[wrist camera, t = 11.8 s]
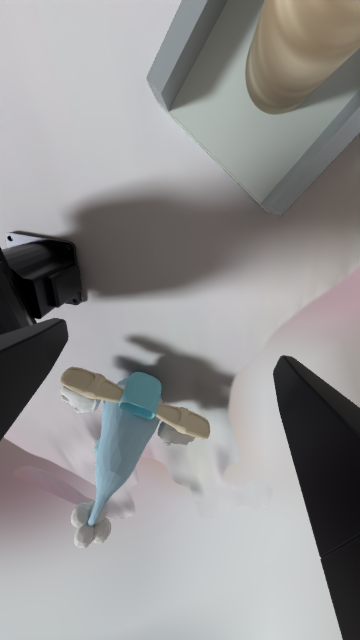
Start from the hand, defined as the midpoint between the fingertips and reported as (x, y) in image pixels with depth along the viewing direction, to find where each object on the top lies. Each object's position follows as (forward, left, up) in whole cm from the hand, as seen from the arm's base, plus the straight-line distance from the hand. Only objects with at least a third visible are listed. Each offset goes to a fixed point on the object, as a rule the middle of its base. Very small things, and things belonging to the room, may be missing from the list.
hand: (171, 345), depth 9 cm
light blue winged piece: (-4, -18, -13) cm, 23 cm away
